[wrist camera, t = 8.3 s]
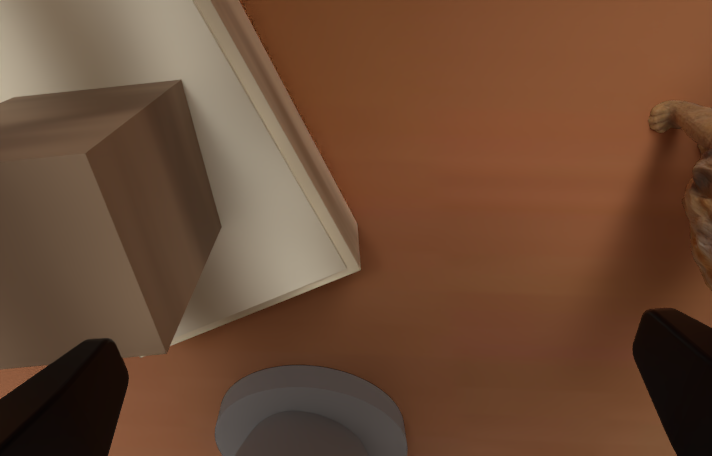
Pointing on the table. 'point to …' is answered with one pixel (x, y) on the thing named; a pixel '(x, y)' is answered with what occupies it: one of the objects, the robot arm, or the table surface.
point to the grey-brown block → (99, 220)
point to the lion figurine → (707, 186)
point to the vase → (308, 415)
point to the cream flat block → (203, 135)
